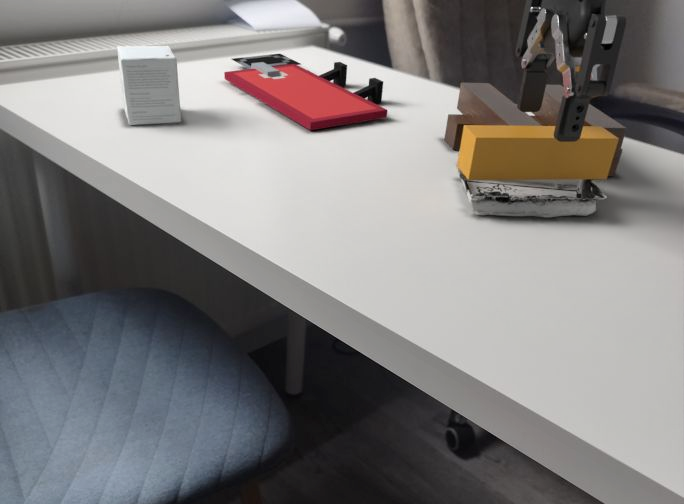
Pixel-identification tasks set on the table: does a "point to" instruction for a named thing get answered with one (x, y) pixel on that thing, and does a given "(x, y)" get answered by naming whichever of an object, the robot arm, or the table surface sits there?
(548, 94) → the stacked wooden blocks
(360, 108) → the red board with handle
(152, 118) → the product box
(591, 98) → the robot arm
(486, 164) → the ochre bar
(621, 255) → the table surface
